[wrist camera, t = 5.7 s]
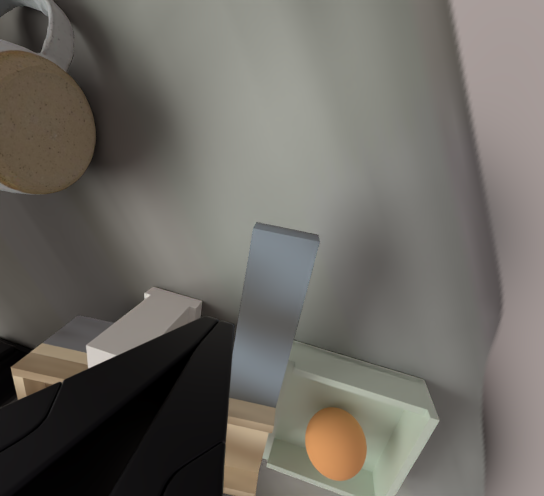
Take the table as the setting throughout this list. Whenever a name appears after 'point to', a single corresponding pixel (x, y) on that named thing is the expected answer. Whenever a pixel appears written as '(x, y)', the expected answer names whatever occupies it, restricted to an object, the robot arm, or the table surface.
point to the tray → (362, 406)
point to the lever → (246, 353)
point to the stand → (144, 324)
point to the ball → (335, 444)
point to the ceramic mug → (42, 110)
